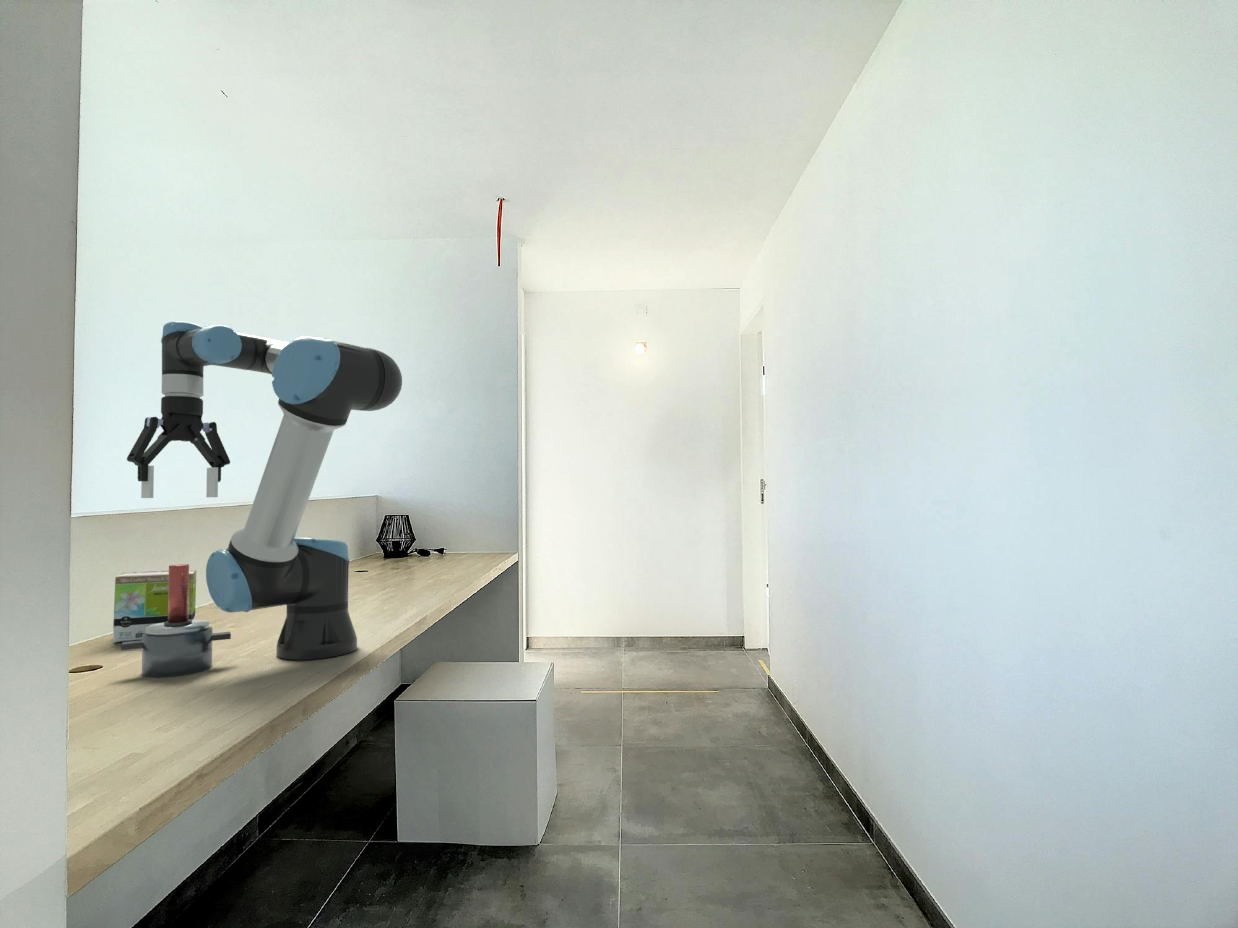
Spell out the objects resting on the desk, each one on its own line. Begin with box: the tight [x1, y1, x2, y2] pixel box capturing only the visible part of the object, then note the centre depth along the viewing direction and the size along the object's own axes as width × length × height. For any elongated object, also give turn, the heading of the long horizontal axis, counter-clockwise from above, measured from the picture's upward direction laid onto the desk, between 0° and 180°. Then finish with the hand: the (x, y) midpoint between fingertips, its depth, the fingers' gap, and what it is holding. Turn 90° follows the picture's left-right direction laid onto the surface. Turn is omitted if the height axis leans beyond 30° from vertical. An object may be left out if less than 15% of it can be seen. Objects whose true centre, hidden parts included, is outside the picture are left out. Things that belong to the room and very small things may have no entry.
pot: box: [120, 625, 232, 678], centre depth 130 cm, size 17×11×7 cm, turn 121°
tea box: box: [112, 569, 197, 644], centre depth 161 cm, size 15×10×15 cm, turn 117°
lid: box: [145, 563, 210, 637], centre depth 130 cm, size 10×10×12 cm
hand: (181, 497), depth 147 cm, fingers open, 13 cm apart
